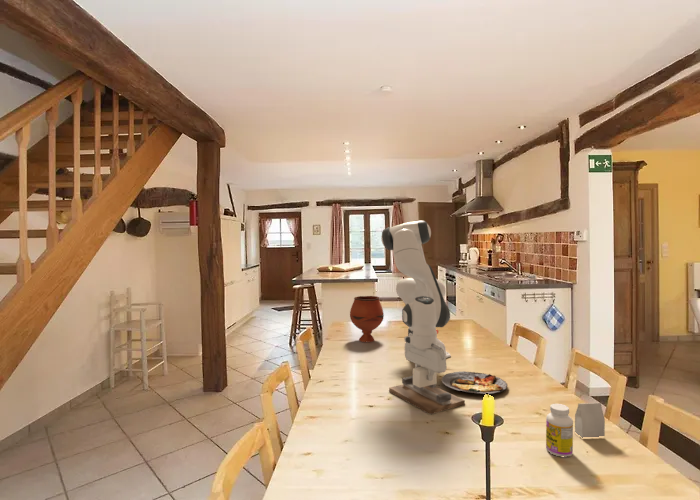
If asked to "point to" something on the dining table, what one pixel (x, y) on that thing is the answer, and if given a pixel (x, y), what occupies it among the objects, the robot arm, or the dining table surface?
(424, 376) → the block
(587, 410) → the grey upright block
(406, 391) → the rail board
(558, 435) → the supplement bottle
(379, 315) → the goblet
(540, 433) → the dining table surface
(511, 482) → the dining table surface
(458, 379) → the food plate
